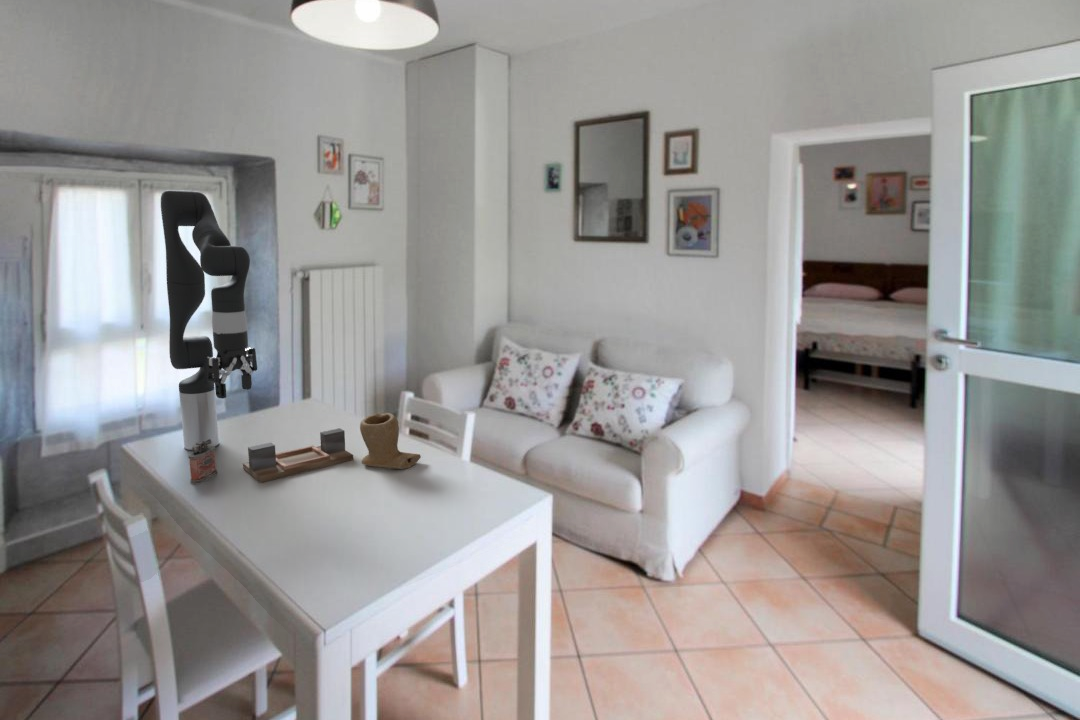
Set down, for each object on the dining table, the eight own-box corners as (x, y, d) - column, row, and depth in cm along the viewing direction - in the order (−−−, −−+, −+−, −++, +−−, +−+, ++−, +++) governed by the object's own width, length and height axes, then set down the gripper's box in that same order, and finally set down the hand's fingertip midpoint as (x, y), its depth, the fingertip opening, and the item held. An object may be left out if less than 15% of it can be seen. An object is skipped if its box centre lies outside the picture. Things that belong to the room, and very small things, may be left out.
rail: (243, 468, 170) (241, 442, 169) (333, 447, 188) (332, 424, 187) (260, 482, 161) (259, 455, 160) (353, 459, 179) (352, 434, 177)
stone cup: (352, 470, 171) (350, 418, 168) (375, 455, 183) (373, 406, 180) (401, 477, 167) (400, 424, 164) (421, 462, 178) (421, 412, 175)
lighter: (198, 484, 159) (195, 447, 157) (187, 483, 160) (183, 446, 158) (220, 473, 167) (217, 437, 165) (209, 471, 167) (206, 436, 165)
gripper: (238, 323, 158) (242, 385, 162) (194, 332, 145) (199, 399, 148) (263, 326, 156) (266, 388, 160) (220, 335, 143) (225, 402, 146)
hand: (234, 393), depth 154 cm, fingers open, 8 cm apart
